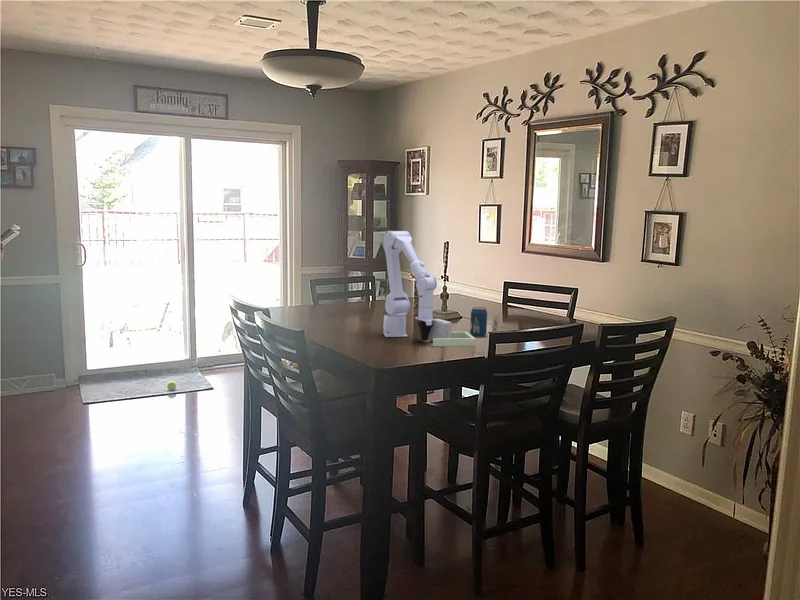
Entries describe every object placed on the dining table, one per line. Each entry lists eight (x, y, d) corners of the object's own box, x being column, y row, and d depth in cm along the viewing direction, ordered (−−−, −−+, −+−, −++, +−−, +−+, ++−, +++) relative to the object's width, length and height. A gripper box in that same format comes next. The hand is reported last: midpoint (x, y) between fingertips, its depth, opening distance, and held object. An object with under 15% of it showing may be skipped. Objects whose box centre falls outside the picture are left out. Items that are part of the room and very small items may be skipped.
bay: (433, 346, 250) (433, 339, 249) (426, 338, 264) (426, 331, 263) (475, 346, 252) (475, 338, 252) (466, 338, 267) (466, 331, 266)
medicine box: (450, 343, 257) (452, 322, 255) (442, 344, 254) (445, 323, 252) (435, 338, 262) (438, 318, 261) (428, 339, 259) (430, 319, 258)
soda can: (483, 334, 277) (484, 307, 276) (488, 337, 270) (489, 309, 269) (468, 334, 276) (469, 307, 274) (472, 337, 269) (473, 309, 268)
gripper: (412, 303, 261) (411, 336, 263) (419, 309, 247) (418, 343, 249) (429, 303, 262) (428, 336, 264) (437, 309, 248) (436, 343, 250)
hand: (424, 339), depth 256 cm, fingers closed
